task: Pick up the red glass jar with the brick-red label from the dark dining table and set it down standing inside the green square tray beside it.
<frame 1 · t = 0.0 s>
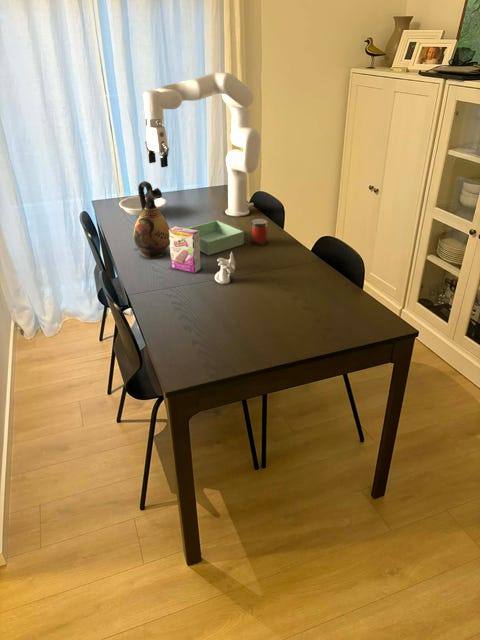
hand: (158, 164, 214), 31 cm above the table, tool pointing down, fingers open, 9 cm apart
green square tray: (213, 242, 219), on the table
soup bowl: (144, 215, 252), on the table
ceramic jug: (152, 253, 209), on the table
figurine: (227, 283, 186), on the table
candy bar box: (186, 269, 196), on the table
red glass jar: (259, 242, 220), on the table
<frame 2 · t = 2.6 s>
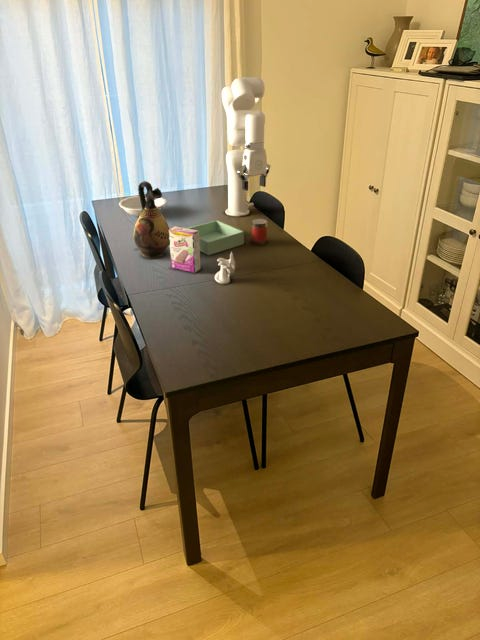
hand: (254, 188, 208), 24 cm above the table, tool pointing down, fingers open, 9 cm apart
nothing on the table moved.
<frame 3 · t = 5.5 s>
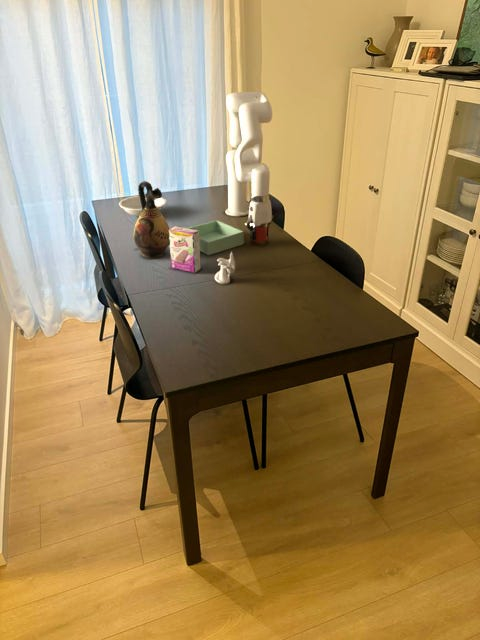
hand: (259, 236, 218), 3 cm above the table, tool pointing down, fingers closed on red glass jar, 6 cm apart
red glass jar: (259, 242, 220), on the table, touching gripper
everything else where it was.
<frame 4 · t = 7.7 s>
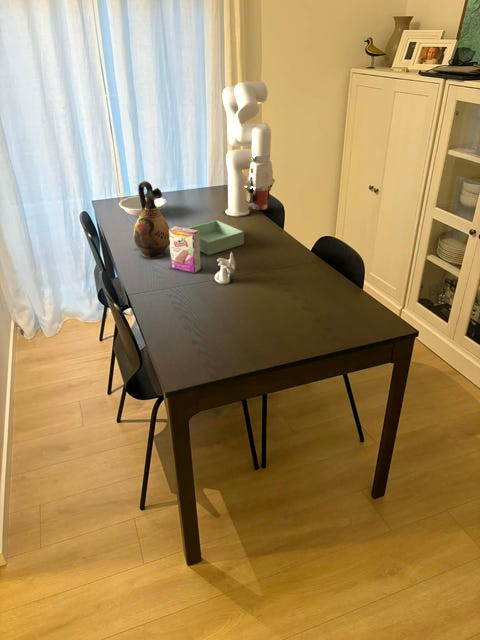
hand: (259, 201, 210), 19 cm above the table, tool pointing down, fingers closed on red glass jar, 6 cm apart
red glass jar: (259, 207, 212), point 16 cm above the table, touching gripper
everything else where it was.
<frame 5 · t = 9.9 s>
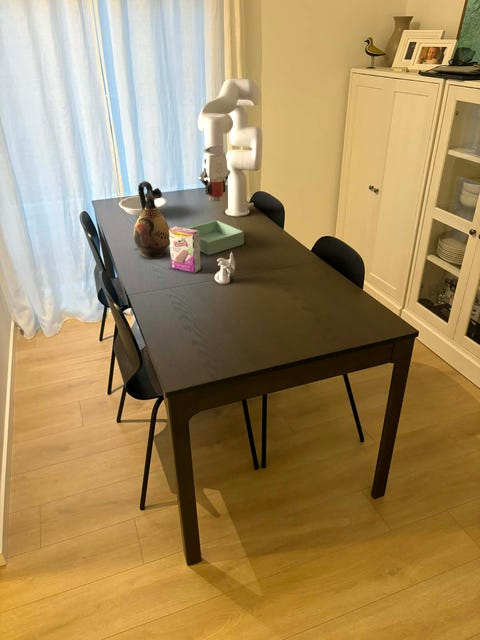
hand: (215, 192, 208), 23 cm above the table, tool pointing down, fingers closed on red glass jar, 6 cm apart
red glass jar: (215, 199, 209), point 20 cm above the table, touching gripper
everything else where it was.
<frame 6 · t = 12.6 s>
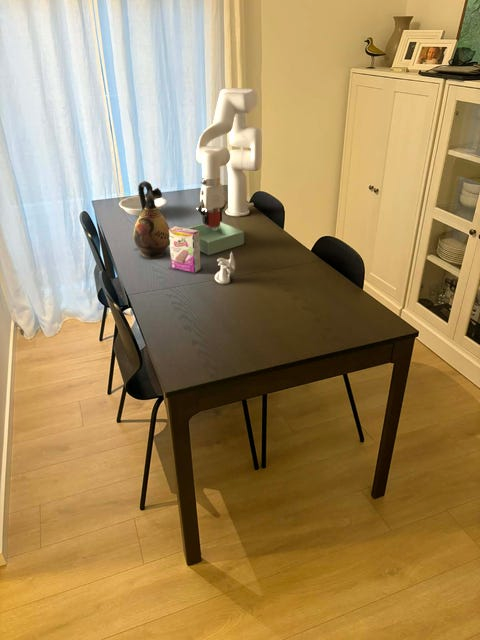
hand: (212, 222, 214), 10 cm above the table, tool pointing down, fingers closed on red glass jar, 6 cm apart
red glass jar: (212, 228, 216), point 7 cm above the table, touching gripper
everything else where it was.
when the fingers open (4 cm above the table, at t = 14.7 s): red glass jar stays where it is, resting on green square tray.
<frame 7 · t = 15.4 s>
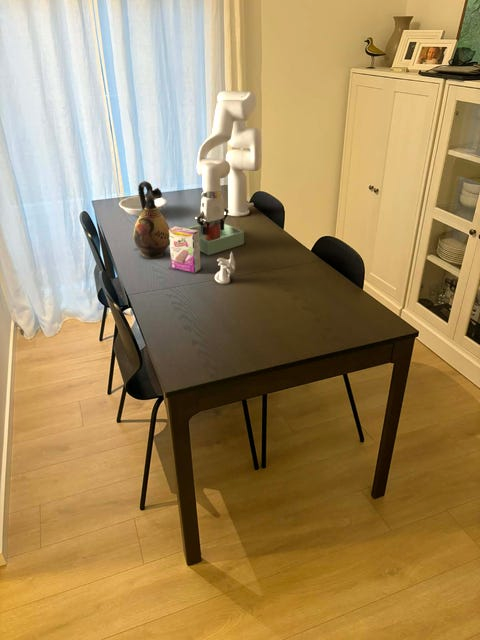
hand: (212, 231, 217), 5 cm above the table, tool pointing down, fingers open, 9 cm apart
red glass jar: (213, 241, 219), point 1 cm above the table, touching green square tray
everything else where it was.
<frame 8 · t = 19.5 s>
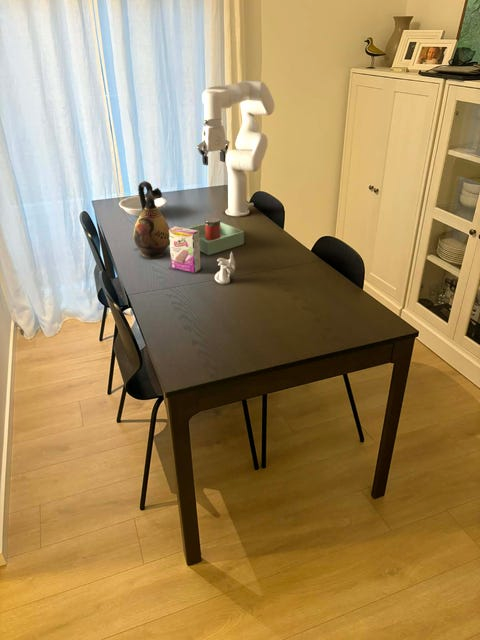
hand: (214, 163, 221), 30 cm above the table, tool pointing down, fingers open, 9 cm apart
nothing on the table moved.
at the end: red glass jar inside the target area in the green square tray (0.0 cm from its centre), point 0.8 cm above the green square tray's base; red glass jar tilted 0°; the gripper is holding nothing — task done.
